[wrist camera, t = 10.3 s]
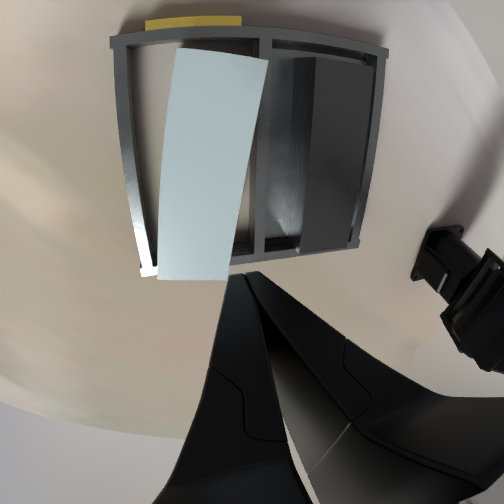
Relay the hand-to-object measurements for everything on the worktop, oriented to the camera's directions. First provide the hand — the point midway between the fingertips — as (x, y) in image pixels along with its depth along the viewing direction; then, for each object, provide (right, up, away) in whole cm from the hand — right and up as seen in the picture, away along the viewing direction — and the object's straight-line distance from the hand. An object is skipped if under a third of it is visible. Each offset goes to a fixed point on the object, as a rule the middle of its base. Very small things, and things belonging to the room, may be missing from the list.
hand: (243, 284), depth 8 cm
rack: (+1, +8, +10) cm, 12 cm away
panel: (-3, +7, +9) cm, 12 cm away
